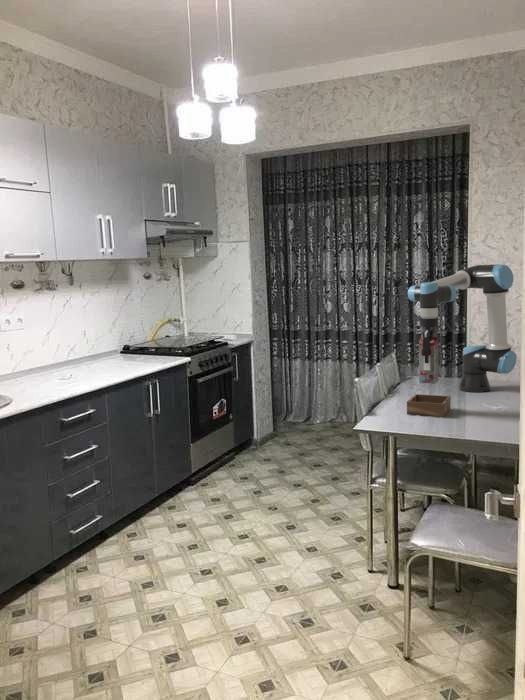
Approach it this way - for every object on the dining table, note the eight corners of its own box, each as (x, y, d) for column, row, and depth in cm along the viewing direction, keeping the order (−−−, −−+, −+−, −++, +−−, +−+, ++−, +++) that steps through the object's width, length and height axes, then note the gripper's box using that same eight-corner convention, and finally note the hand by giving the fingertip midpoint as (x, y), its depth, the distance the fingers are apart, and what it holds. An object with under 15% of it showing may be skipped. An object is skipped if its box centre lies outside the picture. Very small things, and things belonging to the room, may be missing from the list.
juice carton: (434, 383, 260) (434, 334, 257) (419, 382, 263) (419, 333, 260) (438, 380, 265) (438, 332, 262) (423, 379, 269) (423, 332, 266)
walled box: (415, 406, 277) (415, 394, 276) (450, 409, 270) (450, 396, 269) (406, 414, 263) (406, 401, 262) (443, 417, 256) (443, 404, 255)
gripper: (425, 315, 271) (425, 364, 274) (415, 319, 253) (415, 372, 257) (442, 315, 267) (441, 365, 270) (432, 319, 250) (432, 373, 253)
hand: (428, 368), depth 264 cm, fingers closed on juice carton, 7 cm apart
